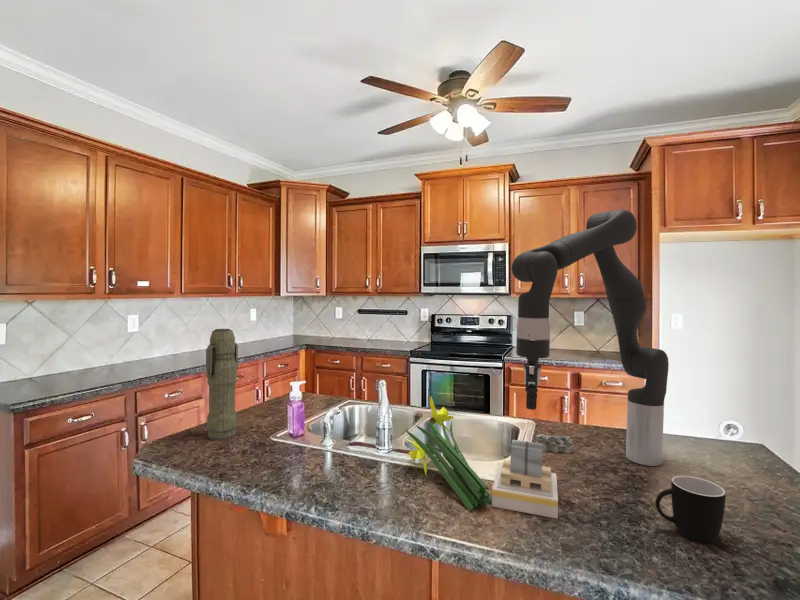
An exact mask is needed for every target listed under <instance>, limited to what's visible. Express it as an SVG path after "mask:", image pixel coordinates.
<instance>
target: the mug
mask: <svg viewBox="0 0 800 600" xmlns="http://www.w3.org/2000/svg"><path fill="white" fill-rule="evenodd" d="M670 484H671V486H670V487H671V488H669V489H668V488H667V489H665V490H662V491H661V492H660V493H658V494H657V495H656V498H655V508H656V510H657V512H658V514H659V516H661V517H662V518H663V519H665V520H667V521H669V522H670V523H673V524H674V526H675V527H676V529H677V531H678V532H679V534H680V535H682V536H684V537H685V538H687V539H689V540H691V541H695V542H696V543H697V542H698V543H702V544H712V543H714V542H716V541H717V539H718V537H719V535H720V533H721V529H722V526H723V522H724V521H723V520H724V516H725V510H726V509H725V508H726V491H725V490H724V488H723V487H722V486H721V485H718V484H717V483H714V482H712V481H710V480H707V479H703V478H700V477H696V476H691V475H690V476H688V475H676V476H673V477H671V483H670ZM667 495H671V507H672V516H670V515H667V514H665V512H663V510H662V509H661V506H660V504H661V501H662V499H663V498H664V497H665V496H667Z"/></svg>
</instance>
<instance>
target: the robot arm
mask: <svg viewBox="0 0 800 600" xmlns="http://www.w3.org/2000/svg"><path fill="white" fill-rule="evenodd" d="M585 227H586V228H585V230H581V231H577V232H574V233H570V234H568V235H564V236H562V237H560V238H558V239H556V240H554V241H552V242H549V244H545V245H542V246H540V247H536V248H533V249H529V250H526V251H524V252H521V253H520V254H519V255H517V256H516V257H515V258H514V259H513V261H512V264H511V274H512V276H513V277H514V278H515V279H516V280H518V281H520V282H523V283H531V286H530V288H529V290H528V291H526V292H523V293H520V295H519V296H518V300H517V305H518V306H517V323H516V340H515V341H516V343H515V344H516V345H515V346H516V348H515V349H516V350H515V351H516V352H515V353H516V355H517V356H518V357H520V358H526V359H527V360H526V362H524V363H523V373H524V374H523V380H524V381H523V382H524V384H525V388H524V390H525V392H526V393H525V394H526V397H525V398H526V399H525V400H526V401H525V402H526V403H525V404H526V405H525V408H526V409H527V410H531V411H532V410H533V411H535V410H537V401H538V392H539V389H538V386H539V385H540V384H541V381H540V380H541V373H542V363H539V361H540V359H547V358H549V357H550V352H551V351H550V348H551V346H550V345H551V343H550V339H551V326H550V325H551V324H550V300H551V296H552V294H553V290H554V286H555V282H556V281H557V276H558V271H559V270H562V269H566V268H567V267H569V266H571V265H572V264H573V265H574V264H575V263H576V262H579V261H580V260H582V259H584V258H586V257H588V256H590V255H594V257H595V258H594V259H595V260H596V264H597V266H598V269H599V271H600V276H601V278H602V282H603V285H604V289H605V294H606V298H607V302H608V305H609V309H610V312H611V315H612V319H613V323H614V327H615V331H616V336H617V342H618V348H619V354H620V361H621V364H622V367H623V370H624V372H625V373H626V374H627V375H628V376H630V377H633V378H639V379H643V380H645V383H644V384H645V385H644V386H643V387H639V388H632V389H629V390H628V391H627V403H626V404H627V407H626V410H627V411H626V412H627V413H626V436H625V437H626V439H625V458H626V459H627V460H629V461H631V462H633V463H636V464H638V465H639V464H640V465H643V466H647V467H657V466H660V465H662V464H663V448H664V445H663V444H664V419H665V416H664V413H665V398H666V394H667V389H668V388H667V387H668V376H669V367H670V365H669V363H670V362H669V358H668V354H667V353H666V352H665V351H664V350H663V349H661V348H660V349H659V348H652V347H644V346H641V345H640V343H639V340H638V328H639V327H640V324H641V322H642V320H643V318H644V316H645V314H646V311H647V300H646V296H645V291H644V288H643V285H642V283H641V281H640V280H639V279H638V278H637V276H636V275H635V274H634V273H633V272H632V271H631V270H630V269H629V268H628V267H627V266H626V265H625V264H624V263H623V262H622V260H620V258H619V257H618V255H617V252H616V249H615V247H614V246H617V245H622V244H627V243H629V242H630V241H631V240H632V239H633V238H634V236H635V235H636V232H637V227H638V225H637V220H636V217H635V215H634V214H633V213H632V212H631V211H629V210H627V209H614V210H608V211H603V212H597V213H594V214H591V215H590V216H589V217H588V218H587V221H586V226H585Z"/></svg>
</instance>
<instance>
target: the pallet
mask: <svg viewBox="0 0 800 600" xmlns="http://www.w3.org/2000/svg"><path fill="white" fill-rule="evenodd" d="M502 465H503V467H502V471H501V484H507V485H510V482H511V479H512V480H519V481H521V487H524V488H530V482H531V483H537V484H541V490H542V491H548V492H550V487H551V473H552V470H551V469H552V467H551V466H547V465H543V451H542V444H541V443H536V442H532V441H527V440H520V439H519V440H518V439H517V440H516V439H512V440H511V445H510V460H508V459H507V460H505V459H504V460H503V462H502Z"/></svg>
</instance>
